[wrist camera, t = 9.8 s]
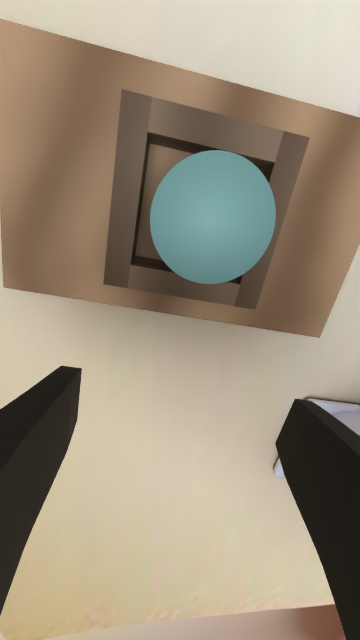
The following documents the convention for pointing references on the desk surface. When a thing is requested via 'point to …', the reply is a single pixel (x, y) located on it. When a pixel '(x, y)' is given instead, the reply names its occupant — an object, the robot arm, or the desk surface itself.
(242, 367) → the desk surface
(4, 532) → the robot arm
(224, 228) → the teal peg
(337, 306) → the desk surface
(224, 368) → the desk surface
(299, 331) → the peg stand
